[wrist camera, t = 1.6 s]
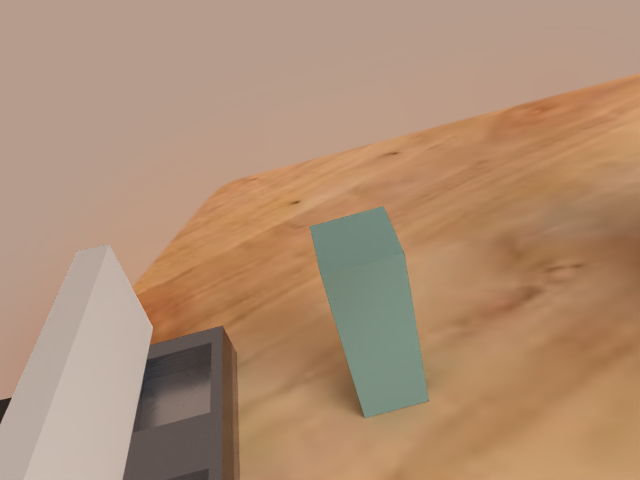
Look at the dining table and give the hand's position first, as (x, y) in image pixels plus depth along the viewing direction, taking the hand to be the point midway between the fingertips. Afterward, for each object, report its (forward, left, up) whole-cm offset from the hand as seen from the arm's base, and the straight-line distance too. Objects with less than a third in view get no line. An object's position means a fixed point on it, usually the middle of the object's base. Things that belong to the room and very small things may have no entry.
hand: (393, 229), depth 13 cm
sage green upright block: (-7, -8, -20) cm, 23 cm away
